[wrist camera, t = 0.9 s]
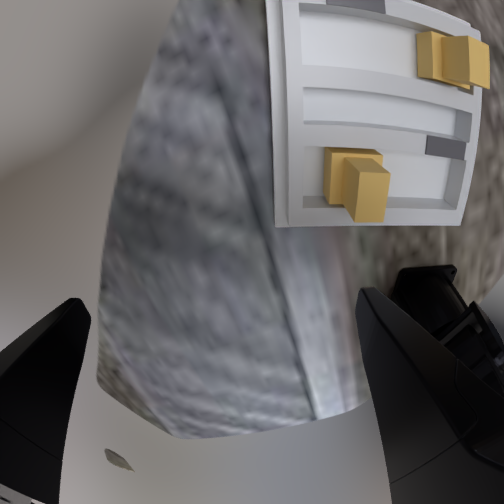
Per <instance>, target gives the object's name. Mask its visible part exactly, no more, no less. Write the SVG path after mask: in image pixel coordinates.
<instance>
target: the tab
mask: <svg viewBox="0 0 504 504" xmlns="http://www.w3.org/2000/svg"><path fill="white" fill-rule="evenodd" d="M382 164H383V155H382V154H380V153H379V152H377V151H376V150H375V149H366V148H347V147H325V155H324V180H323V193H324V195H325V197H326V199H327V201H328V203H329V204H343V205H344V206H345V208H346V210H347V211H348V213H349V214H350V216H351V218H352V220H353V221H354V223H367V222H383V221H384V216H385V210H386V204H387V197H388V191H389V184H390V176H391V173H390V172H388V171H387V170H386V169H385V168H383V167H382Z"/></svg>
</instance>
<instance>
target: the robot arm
mask: <svg viewBox="0 0 504 504" xmlns="http://www.w3.org/2000/svg"><path fill="white" fill-rule="evenodd" d="M456 272H457V269H456V267H455V266H453V265H452V266H439V267H425V268H410V269H403V270H402V271H401V272H400V274H399V277H398V280H397V283H396V286H395V290H394V292H393V293H392V296H391V299H389V298H387V297H386V296H385V295H384V294H383V293H381V292H380V291H379V290H378V289H376V288H375V287H362V288H361V289H360V290H359V293H358V299H357V304H356V309H355V315H356V321H357V327H358V333H359V339H360V345H361V352H362V358H363V363H364V368H365V371H366V375H367V379H368V383H369V387H370V391H371V395H372V399H373V403H374V408H375V412H376V416H377V421H378V425H379V430H380V435H381V440H382V445H383V450H384V455H385V461H386V466H387V472H388V478H389V483H390V492H391V499H392V504H504V342H503V340H502V338H501V335H500V334H499V333H498V331H497V329H496V327H495V326H494V324H493V323H492V321H491V320H490V318H489V317H488V316H487V314H486V313H485V312H484V311H483V310H482V309H481V308H480V307H479V306H478V304H477V303H476V302H475V301H473V302H472V303H471V304H470V305H469V307H468V306H467V305H466V303H465V302H464V300H463V299H462V297H461V296H460V294H459V292H458V291H457V290H456V288H455V287H454V285H453V284H452V282H453V280H454V277H455V275H456ZM405 274H406V275H405ZM404 275H405V276H404ZM90 325H91V316H90V314H89V312H88V311H87V309H86V307H85V305H84V303H83V302H82V300H81V299H79V298H69V299H68V300H66V301H65V302H64V303H62V304H61V305H59V306H58V307H57V308H55V309H54V310H53V311H52V312H50V313H49V314H47V315H46V316H45V317H44V318H42V319H41V320H40V321H38V322H37V323H36V324H35V325H33V326H32V327H31V328H29V329H28V330H27V331H25V332H24V333H23V334H22V335H21V336H19V337H18V338H17V339H16V340H14V341H13V342H12V343H11V344H9V345H8V346H7V347H6V348H5V349H3V350H2V351H1V352H0V504H34V503H32V502H31V500H32V499H35V500H38V501H40V502H42V503H45V504H59V492H60V479H61V470H62V460H63V453H64V446H65V440H66V434H67V428H68V422H69V417H70V412H71V408H72V403H73V399H74V394H75V390H76V386H77V382H78V378H79V374H80V370H81V367H82V363H83V359H84V354H85V348H86V343H87V339H88V334H89V329H90Z"/></svg>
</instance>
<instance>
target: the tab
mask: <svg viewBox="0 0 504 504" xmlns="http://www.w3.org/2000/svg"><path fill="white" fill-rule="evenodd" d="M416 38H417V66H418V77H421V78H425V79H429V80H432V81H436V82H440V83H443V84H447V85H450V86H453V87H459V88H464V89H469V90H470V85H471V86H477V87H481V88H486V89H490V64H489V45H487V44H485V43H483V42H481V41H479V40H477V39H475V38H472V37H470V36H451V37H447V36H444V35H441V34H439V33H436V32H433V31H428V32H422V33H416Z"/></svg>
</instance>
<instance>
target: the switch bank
mask: <svg viewBox="0 0 504 504" xmlns="http://www.w3.org/2000/svg"><path fill="white" fill-rule="evenodd" d="M265 7H266V22H267V37H268V55H269V73H270V94H271V118H272V146H273V180H274V221H275V228H279V227H317V226H382V225H443V226H460V224H461V220H462V217H463V213H464V209H465V205H466V201H467V197H468V193H469V188H470V184H471V179H472V174H473V168H474V163H475V157H476V150H477V143H478V135H479V127H480V116H481V101H482V88H481V87H477V86H471V85H470V90H469V89H464V88H459V87H453V86H450V85H447V84H443V83H440V82H436V81H432V80H429V79H425V78H421V77H418V66H417V38H416V33H422V32H428V31H433V32H436V33H439V34H441V35H444V36H447V37H451V36H470V37H472V38H475V39H477V40H479V41H481V36H480V31H478V30H476V29H474V28H472V27H470V23H468V22H466V21H463V20H461V19H459V18H457V17H454V16H452V15H450V14H447V13H445V12H442V11H440V10H437V9H435V8H432V7H429V6H426V5H423V4H420V3H417V2H414V1H411V0H265ZM325 147H347V148H366V149H375V150H376V151H377V152H379V153H380V154H382V155H383V164H382V167H383V168H385V169H386V170H387V171H388V172H390V173H391V176H390V184H389V191H388V197H387V204H386V210H385V216H384V221H383V222H367V223H354V221H353V220H352V218H351V216H350V214H349V213H348V211H347V210H346V208H345V206H344V205H343V204H329V203H328V201H327V199H326V197H325V195H324V193H323V180H324V155H325Z"/></svg>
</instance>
